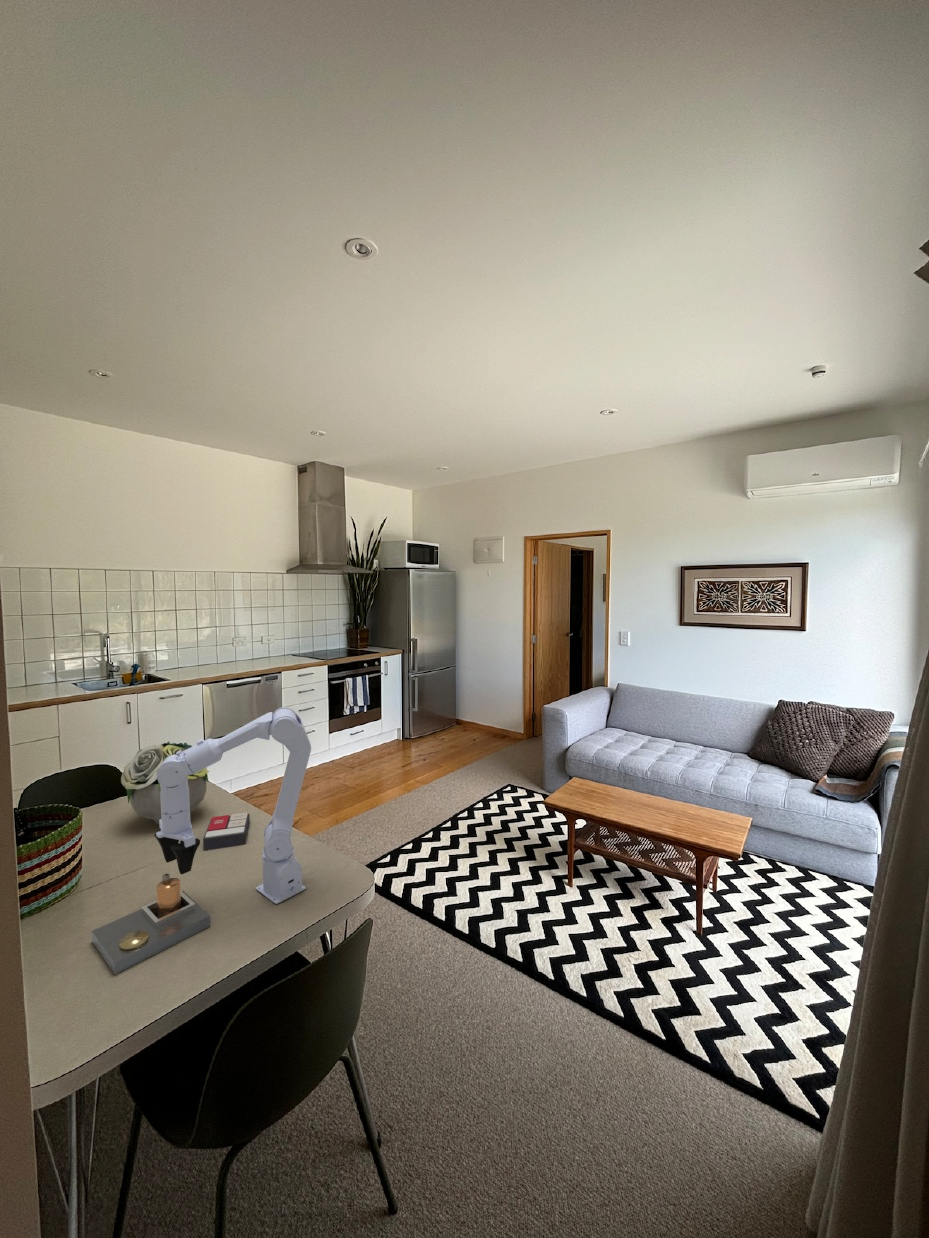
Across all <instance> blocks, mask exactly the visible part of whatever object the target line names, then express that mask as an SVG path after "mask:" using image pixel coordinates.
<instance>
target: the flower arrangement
mask: <svg viewBox="0 0 929 1238" xmlns="http://www.w3.org/2000/svg"><path fill="white" fill-rule="evenodd" d="M191 747H193V746H192V745H190V744H188V743H187V742H183V743H182V742H179V743H176V742H172V743H170V741H167V742H163V743H161V744H158V745H157V744H156V743H154V744H151V745H148V746H145V747H143V748H140V749H138V751H137V752H136V753H135V755H134V757H133V758H132V759H131V760H130V761H128V762H127V764H126V765H125V766H124V768H123V771H122V774H121V777H120V783H121V784H122V786H123V787H124V789H126V796H127V801H128V804H130V805H131V807H132V809H133V811H134V812H135V813H136V814H137V815H138V816H140V817H143V818H145V819H149V820H153V821H154V822H155V823H156V824H157V825H159V820H160V819H161V800H160V791H161V788H160V783H159V781H158V779H157V772H158V769H159V768H160V766H161V764H162V763H163V761H164V760H165V759H166V758H167V757H169V756H171V755H174V754H176V753H177V752H178V751H180V750H181V751H182V752H183V751H185V750H187V749H189V748H191ZM207 768H208V767H206V768H204V769H202V770H200V771H198V772H196V773H195V774H192V775H187V776H188V786H189V800H190V812H191V811H194V809H195V808H196V807H197V806H198V805H200V804H201V802H202V801H203V800H204V799H205V796H206V793H207V783H208V784H209V777H208V773H210V771H209V770H208V769H207Z"/></svg>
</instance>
